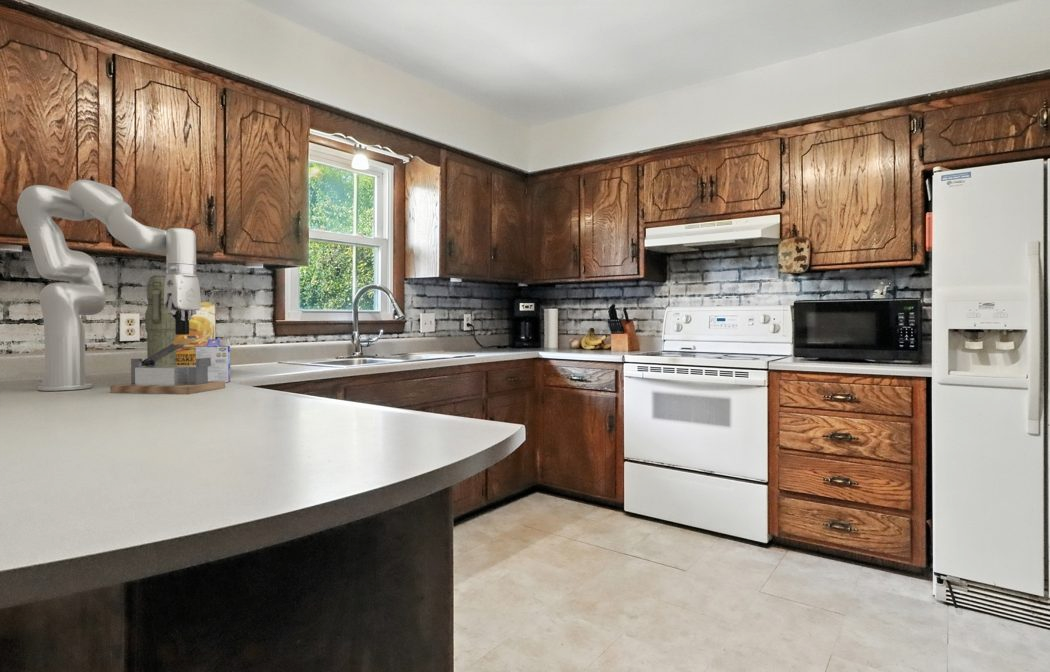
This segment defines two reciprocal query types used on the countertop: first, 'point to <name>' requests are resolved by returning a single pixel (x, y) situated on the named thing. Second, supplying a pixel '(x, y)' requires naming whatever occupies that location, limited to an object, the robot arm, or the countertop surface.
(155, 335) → the green stone totem
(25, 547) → the countertop surface
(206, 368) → the lug
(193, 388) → the wooden board
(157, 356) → the retention strap
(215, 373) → the ink cartridge box
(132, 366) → the hinge bracket
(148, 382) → the heat sink
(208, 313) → the pancake mix bag
